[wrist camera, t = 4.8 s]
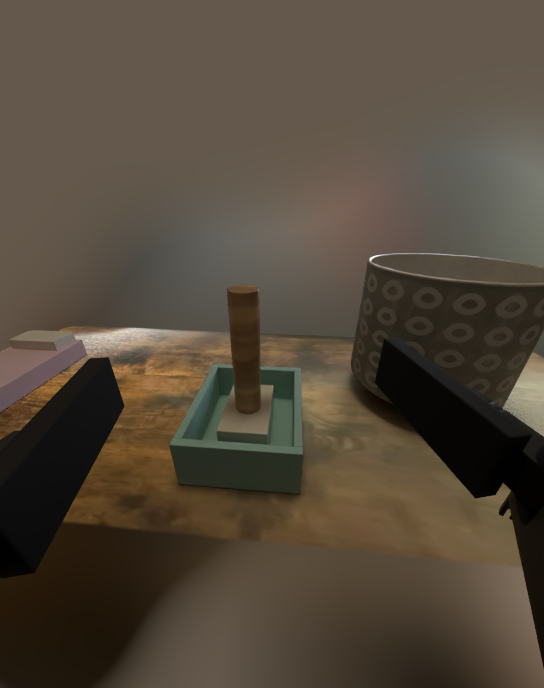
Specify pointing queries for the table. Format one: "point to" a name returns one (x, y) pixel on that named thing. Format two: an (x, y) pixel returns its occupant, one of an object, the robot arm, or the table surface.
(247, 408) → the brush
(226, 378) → the green open box
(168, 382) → the table surface
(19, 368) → the bed
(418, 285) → the planter
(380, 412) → the table surface
